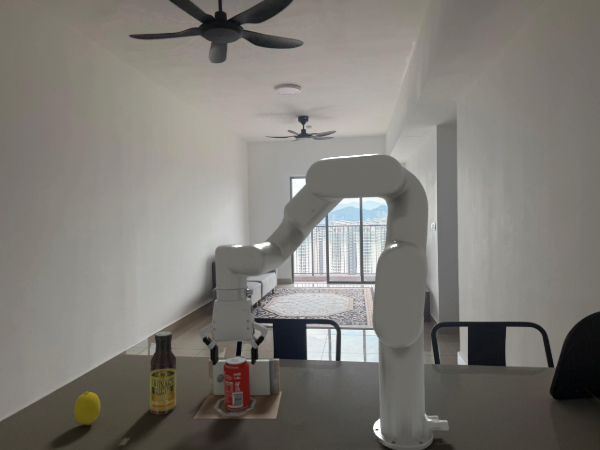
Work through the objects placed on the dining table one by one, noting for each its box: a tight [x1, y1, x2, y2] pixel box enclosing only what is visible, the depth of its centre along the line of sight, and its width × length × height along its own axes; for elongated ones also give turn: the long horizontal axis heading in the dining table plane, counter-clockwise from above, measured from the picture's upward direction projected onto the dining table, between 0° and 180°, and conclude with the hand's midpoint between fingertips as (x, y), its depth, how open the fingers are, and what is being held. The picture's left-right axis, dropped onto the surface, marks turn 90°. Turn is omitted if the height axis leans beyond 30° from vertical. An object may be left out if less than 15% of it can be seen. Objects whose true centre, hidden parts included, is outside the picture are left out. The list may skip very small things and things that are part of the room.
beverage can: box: [224, 355, 250, 412], centre depth 97 cm, size 6×6×12 cm
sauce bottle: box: [149, 330, 177, 415], centre depth 98 cm, size 7×6×20 cm
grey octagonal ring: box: [214, 397, 256, 417], centre depth 97 cm, size 10×10×1 cm
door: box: [213, 358, 275, 395], centre depth 103 cm, size 16×2×9 cm, turn 87°
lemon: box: [73, 391, 102, 426], centre depth 93 cm, size 6×6×8 cm
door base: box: [193, 358, 283, 420], centre depth 99 cm, size 20×14×10 cm
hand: (234, 362), depth 97 cm, fingers open, 9 cm apart
